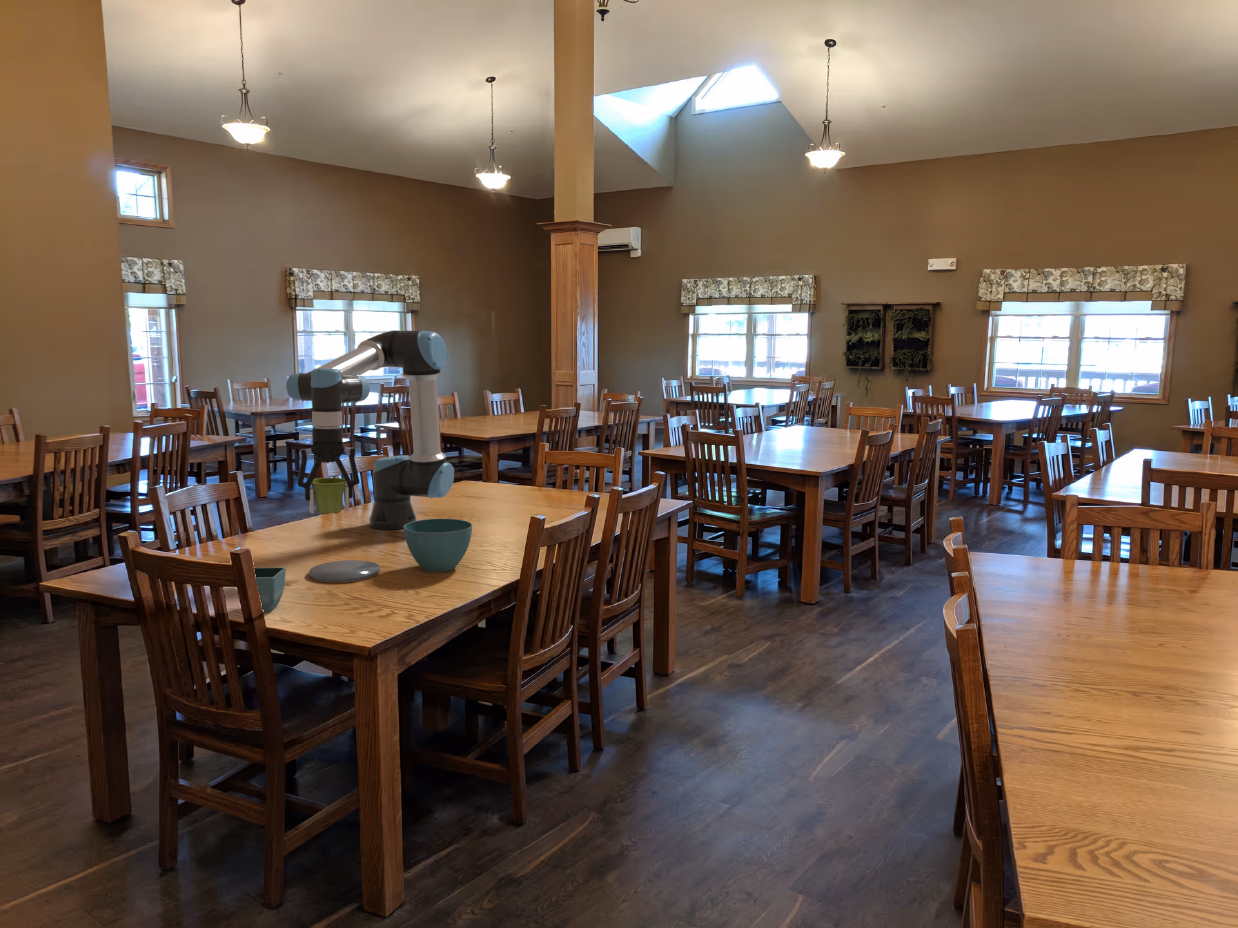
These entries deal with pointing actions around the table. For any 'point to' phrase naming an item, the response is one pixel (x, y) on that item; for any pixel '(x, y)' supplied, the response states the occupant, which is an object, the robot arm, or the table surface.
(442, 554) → the teal bowl
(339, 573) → the trivet
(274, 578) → the flower pot
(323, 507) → the plant pot
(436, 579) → the table surface
